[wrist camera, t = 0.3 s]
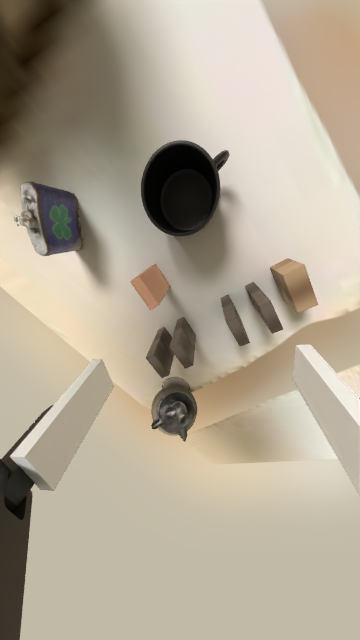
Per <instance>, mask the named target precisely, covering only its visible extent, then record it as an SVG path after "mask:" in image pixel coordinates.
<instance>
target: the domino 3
mask: <svg viewBox="0 0 360 640" xmlns="http://www.w3.org/2000/svg"><path fill="white" fill-rule="evenodd" d="M195 338H196V335H195V333H194V332H193V330H192V329H191V327H190V326H189V324H188V323H187V321H186V319H185V318H184V317H183V318H181V319H179V320H177V324H176V327H175V331H174V334H173V337H172V341H171V344H170V348H171V350H172V351H173V352H174V354H175V355H176V357H177V358H178V359H179V361H180V362H181V364H182V365H183V366H184V368H188V367H190V366H193V362H194V350H195Z"/></svg>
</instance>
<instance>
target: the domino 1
mask: <svg viewBox="0 0 360 640" xmlns="http://www.w3.org/2000/svg"><path fill="white" fill-rule="evenodd" d="M130 282H131V284H132V285H133V286H134V288H135V289H136V291H137V292H138V293H139V295H140V296H141V298H142V299H143V301H144V302H145V303H146V305H147V306H148V308H149V309H150V310H151V309H153V308H155V307H157V306H158V305H159V304H160V302H161V301H162V299H163V297H164V296H165V294H166V292H167V290H168V289H169V287H170V286H169V284H168V283H167V281H166V280H165V278H164V276H163V275H162V273H161V272H160V270H159V269H158V267H157V265H156V264H154V265H153V266H151V267H150V268H148V269H147V270H146V271H144V272H143V273H141V274H140V275H139V276H137V277H136V278H135V279H133V280H132V281H130Z"/></svg>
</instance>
